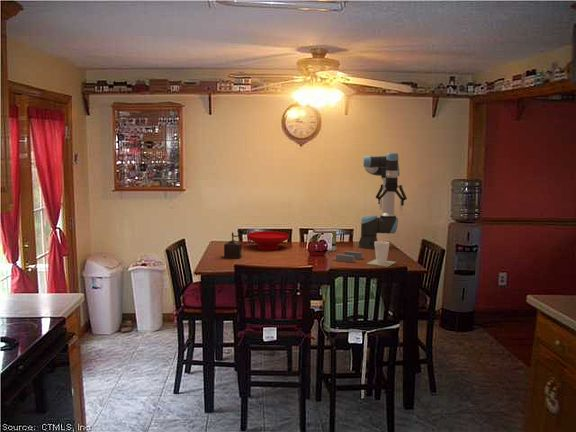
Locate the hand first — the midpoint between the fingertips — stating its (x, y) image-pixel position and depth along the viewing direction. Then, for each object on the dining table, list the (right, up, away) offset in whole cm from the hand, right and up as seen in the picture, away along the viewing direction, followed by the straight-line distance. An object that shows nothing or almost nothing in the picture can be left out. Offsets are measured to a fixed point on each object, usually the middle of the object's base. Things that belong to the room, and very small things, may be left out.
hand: (390, 210), depth 339 cm
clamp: (-26, -32, +3) cm, 42 cm away
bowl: (-81, -27, +44) cm, 96 cm away
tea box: (-41, -29, +37) cm, 62 cm away
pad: (-7, -34, -8) cm, 36 cm away
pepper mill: (-102, -31, +10) cm, 108 cm away
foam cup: (-8, -33, -8) cm, 35 cm away
